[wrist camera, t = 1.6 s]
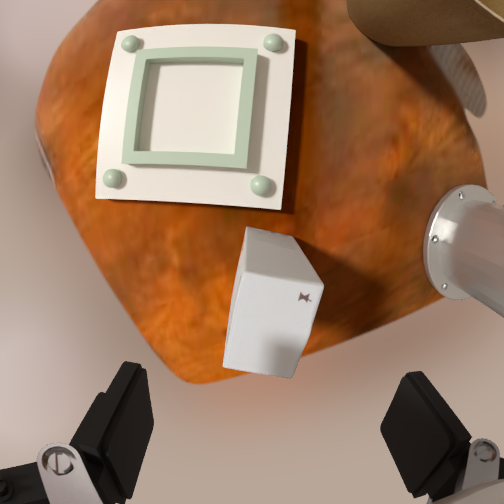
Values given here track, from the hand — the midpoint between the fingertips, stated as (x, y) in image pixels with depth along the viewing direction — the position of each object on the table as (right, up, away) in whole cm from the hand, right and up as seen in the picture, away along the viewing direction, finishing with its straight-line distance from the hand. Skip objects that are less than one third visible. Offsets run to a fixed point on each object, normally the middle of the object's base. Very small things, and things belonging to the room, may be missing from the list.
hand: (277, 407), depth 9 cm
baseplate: (-6, +17, +14) cm, 23 cm away
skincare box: (0, +4, +17) cm, 18 cm away
